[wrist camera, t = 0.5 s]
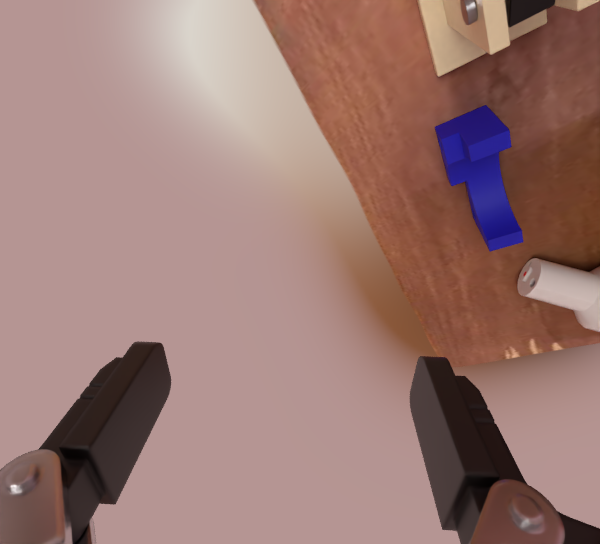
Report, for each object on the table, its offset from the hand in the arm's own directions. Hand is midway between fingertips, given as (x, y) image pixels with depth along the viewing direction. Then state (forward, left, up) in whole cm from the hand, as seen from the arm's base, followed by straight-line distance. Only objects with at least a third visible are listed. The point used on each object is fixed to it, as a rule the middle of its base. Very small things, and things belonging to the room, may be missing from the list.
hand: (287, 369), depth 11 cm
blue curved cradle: (+13, +10, -29) cm, 33 cm away
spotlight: (+32, +18, -29) cm, 47 cm away
